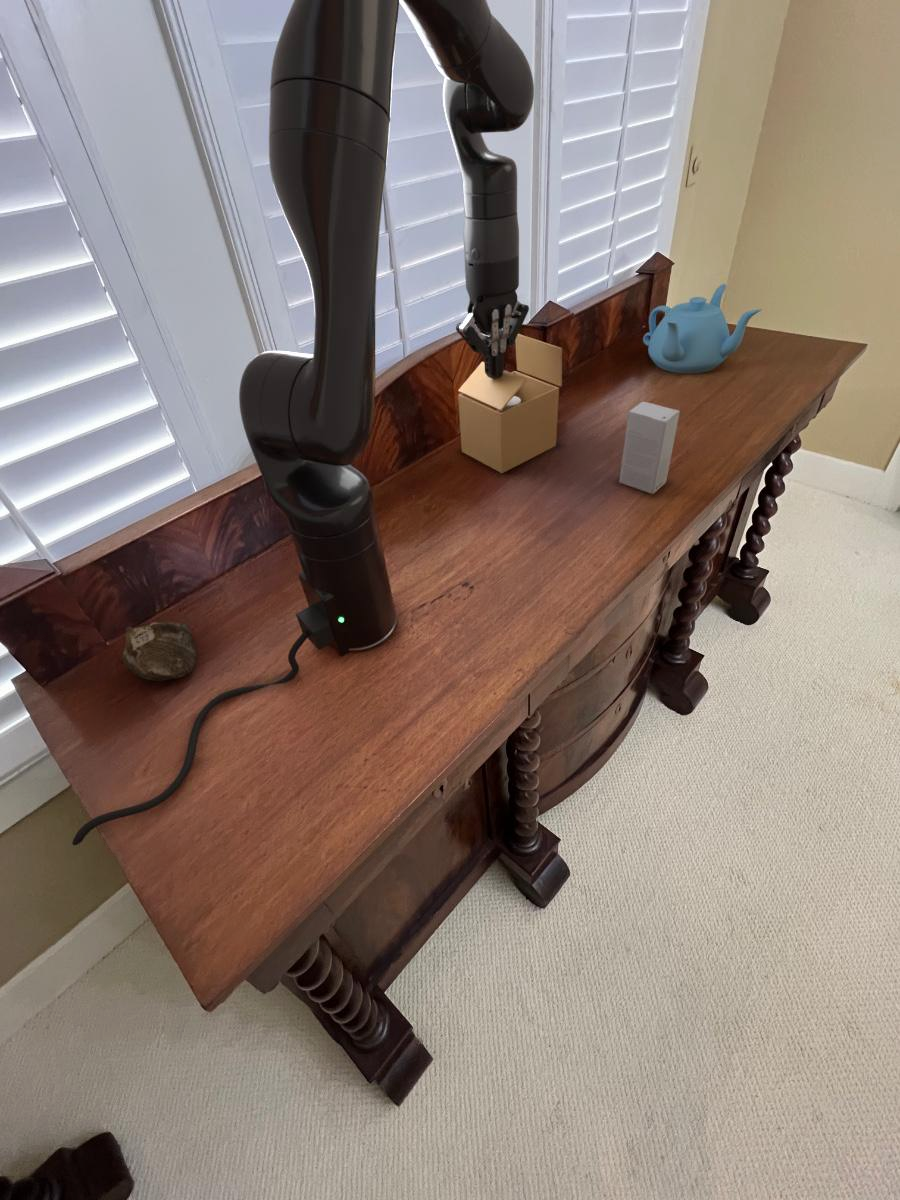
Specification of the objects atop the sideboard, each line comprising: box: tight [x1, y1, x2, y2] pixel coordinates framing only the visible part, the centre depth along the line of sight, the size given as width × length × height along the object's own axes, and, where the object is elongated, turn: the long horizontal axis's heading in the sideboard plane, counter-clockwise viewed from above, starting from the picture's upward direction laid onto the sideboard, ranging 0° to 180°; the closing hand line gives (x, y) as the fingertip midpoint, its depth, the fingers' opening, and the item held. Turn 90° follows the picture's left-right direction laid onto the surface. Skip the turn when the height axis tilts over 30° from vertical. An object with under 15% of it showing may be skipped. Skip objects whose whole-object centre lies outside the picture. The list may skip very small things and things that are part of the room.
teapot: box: [642, 283, 763, 375], centre depth 119 cm, size 17×19×12 cm
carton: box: [457, 333, 563, 474], centre depth 97 cm, size 14×10×17 cm
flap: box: [457, 361, 527, 411], centre depth 92 cm, size 6×10×1 cm, turn 39°
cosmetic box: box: [618, 401, 681, 495], centre depth 87 cm, size 6×4×12 cm
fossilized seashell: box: [121, 621, 197, 682], centre depth 69 cm, size 8×7×10 cm
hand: (494, 376), depth 92 cm, fingers closed
